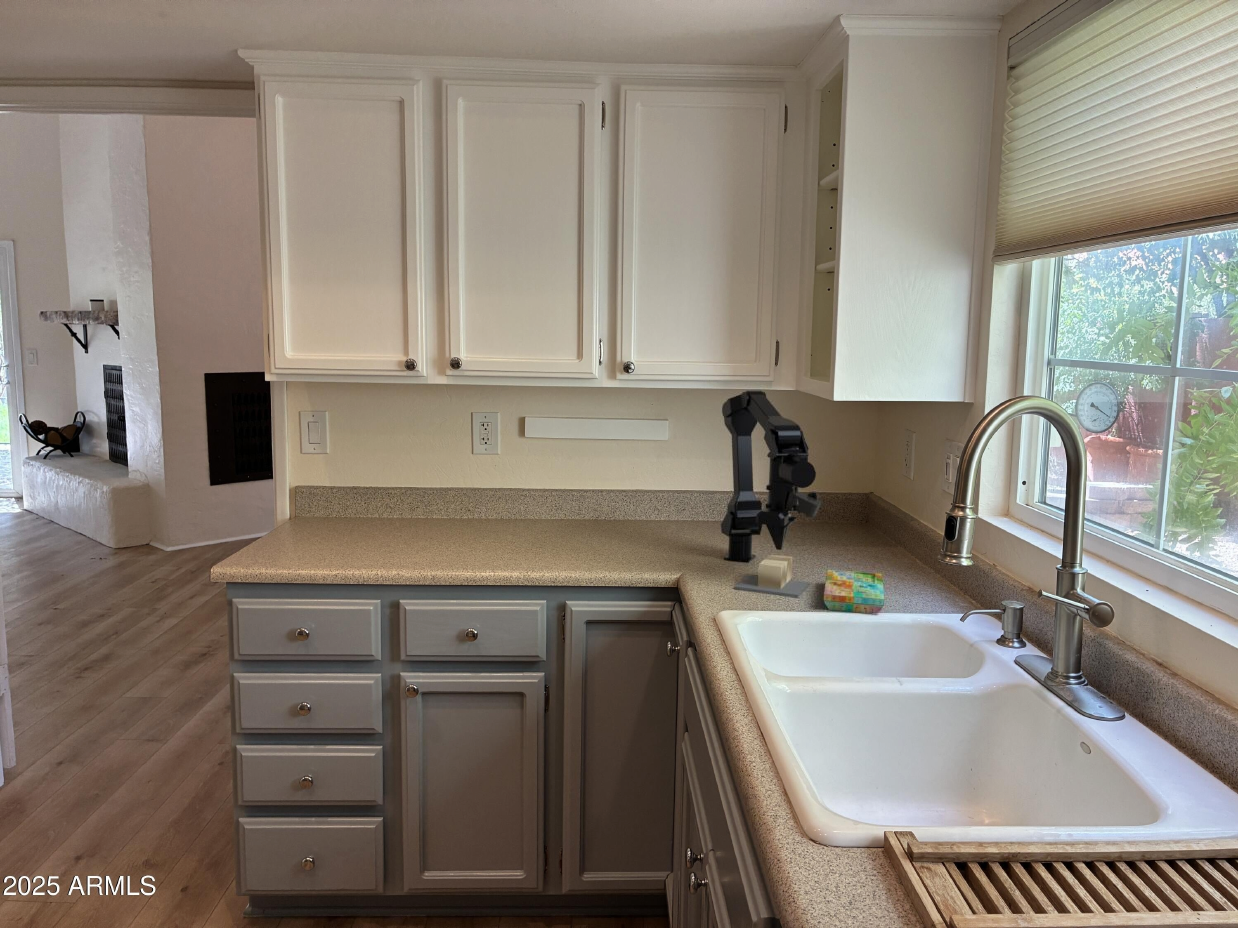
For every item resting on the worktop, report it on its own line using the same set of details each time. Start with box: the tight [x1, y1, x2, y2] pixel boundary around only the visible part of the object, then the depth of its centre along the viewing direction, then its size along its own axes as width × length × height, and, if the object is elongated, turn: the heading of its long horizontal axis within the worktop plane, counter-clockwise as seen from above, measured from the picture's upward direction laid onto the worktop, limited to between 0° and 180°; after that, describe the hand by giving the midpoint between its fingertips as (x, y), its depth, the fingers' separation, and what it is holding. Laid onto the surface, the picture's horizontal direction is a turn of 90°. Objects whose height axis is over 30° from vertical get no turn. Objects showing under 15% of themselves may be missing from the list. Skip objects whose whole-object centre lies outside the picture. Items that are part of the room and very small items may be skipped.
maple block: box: [757, 553, 794, 589], centre depth 205 cm, size 5×5×10 cm
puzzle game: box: [823, 569, 885, 614], centre depth 195 cm, size 12×5×20 cm
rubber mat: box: [734, 574, 811, 599], centre depth 203 cm, size 11×14×1 cm
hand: (779, 549), depth 206 cm, fingers closed
